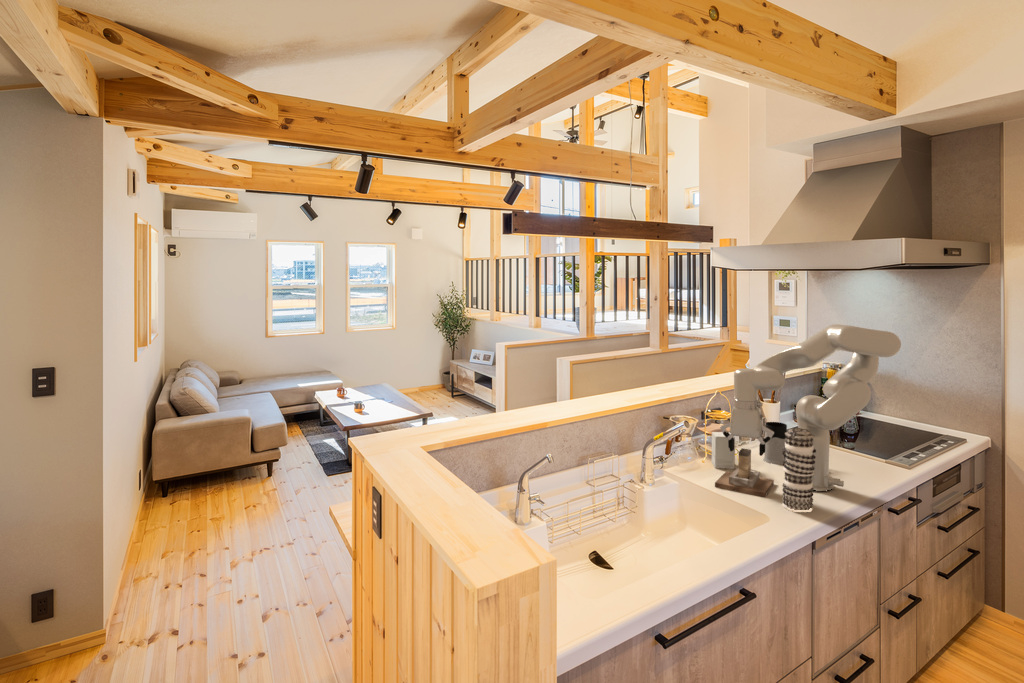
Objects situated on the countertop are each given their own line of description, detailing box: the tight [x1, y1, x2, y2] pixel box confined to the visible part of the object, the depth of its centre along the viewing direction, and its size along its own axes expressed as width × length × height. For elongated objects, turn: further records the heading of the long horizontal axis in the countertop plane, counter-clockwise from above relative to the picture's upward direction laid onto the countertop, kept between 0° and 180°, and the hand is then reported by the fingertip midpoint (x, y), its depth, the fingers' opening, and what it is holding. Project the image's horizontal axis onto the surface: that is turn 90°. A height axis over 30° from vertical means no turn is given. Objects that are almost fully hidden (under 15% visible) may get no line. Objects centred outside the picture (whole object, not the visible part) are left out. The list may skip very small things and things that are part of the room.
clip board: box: [714, 467, 775, 498], centre depth 178 cm, size 16×14×4 cm
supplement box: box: [711, 431, 736, 470], centre depth 198 cm, size 7×7×13 cm
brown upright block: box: [737, 448, 752, 479], centre depth 177 cm, size 3×5×11 cm, turn 144°
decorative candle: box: [781, 427, 816, 510], centre depth 158 cm, size 9×9×25 cm
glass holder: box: [762, 421, 788, 465], centre depth 201 cm, size 9×14×15 cm, turn 70°
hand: (746, 452), depth 177 cm, fingers open, 9 cm apart
